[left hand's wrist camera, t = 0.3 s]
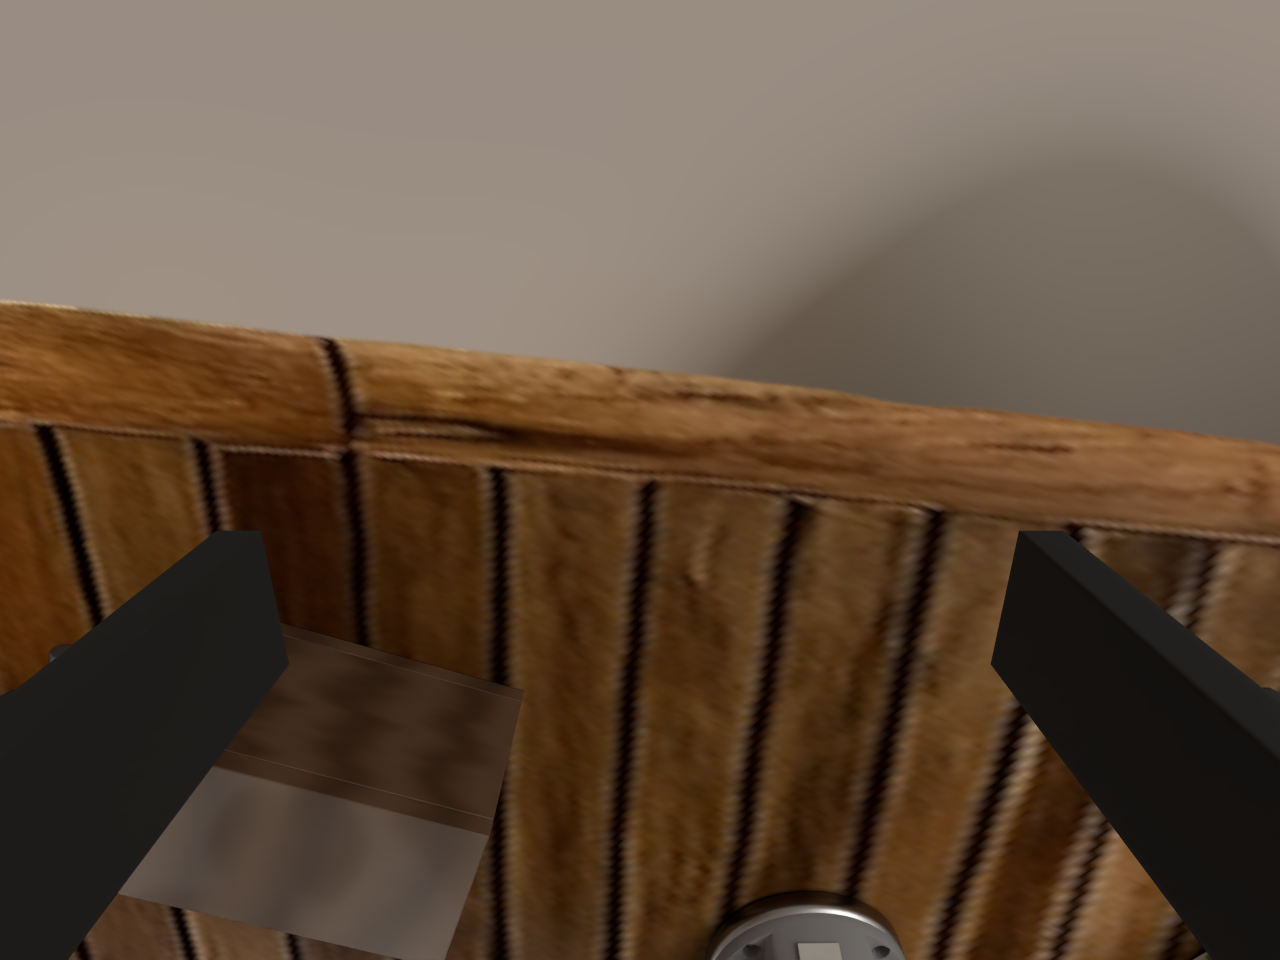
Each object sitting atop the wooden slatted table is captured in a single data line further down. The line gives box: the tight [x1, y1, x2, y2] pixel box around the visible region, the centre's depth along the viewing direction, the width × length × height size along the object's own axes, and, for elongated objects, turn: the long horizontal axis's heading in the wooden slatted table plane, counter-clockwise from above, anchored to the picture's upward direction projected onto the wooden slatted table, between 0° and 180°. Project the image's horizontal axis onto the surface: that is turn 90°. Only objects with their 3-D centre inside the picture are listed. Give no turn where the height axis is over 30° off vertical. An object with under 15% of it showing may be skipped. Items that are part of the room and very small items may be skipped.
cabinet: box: [118, 623, 524, 960], centre depth 43 cm, size 18×10×12 cm, turn 71°
